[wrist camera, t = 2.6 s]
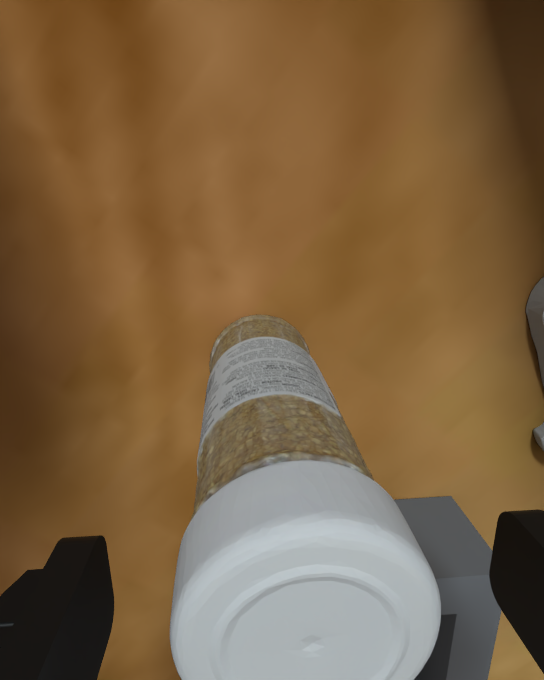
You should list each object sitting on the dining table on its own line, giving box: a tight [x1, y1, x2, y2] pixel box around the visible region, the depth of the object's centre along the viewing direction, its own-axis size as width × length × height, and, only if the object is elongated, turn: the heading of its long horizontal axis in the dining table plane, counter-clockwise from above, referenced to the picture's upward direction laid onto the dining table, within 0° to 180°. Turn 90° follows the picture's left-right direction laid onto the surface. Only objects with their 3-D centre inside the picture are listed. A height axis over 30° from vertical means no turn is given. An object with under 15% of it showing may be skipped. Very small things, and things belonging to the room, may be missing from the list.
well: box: [394, 496, 501, 680], centre depth 22 cm, size 11×11×5 cm
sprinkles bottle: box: [170, 315, 441, 680], centre depth 13 cm, size 5×4×14 cm
